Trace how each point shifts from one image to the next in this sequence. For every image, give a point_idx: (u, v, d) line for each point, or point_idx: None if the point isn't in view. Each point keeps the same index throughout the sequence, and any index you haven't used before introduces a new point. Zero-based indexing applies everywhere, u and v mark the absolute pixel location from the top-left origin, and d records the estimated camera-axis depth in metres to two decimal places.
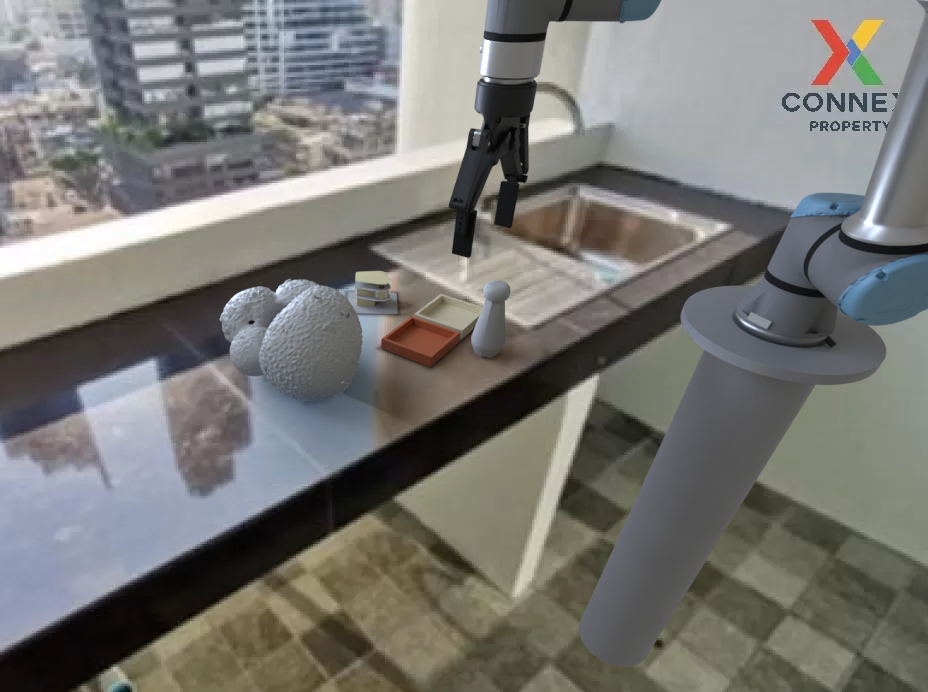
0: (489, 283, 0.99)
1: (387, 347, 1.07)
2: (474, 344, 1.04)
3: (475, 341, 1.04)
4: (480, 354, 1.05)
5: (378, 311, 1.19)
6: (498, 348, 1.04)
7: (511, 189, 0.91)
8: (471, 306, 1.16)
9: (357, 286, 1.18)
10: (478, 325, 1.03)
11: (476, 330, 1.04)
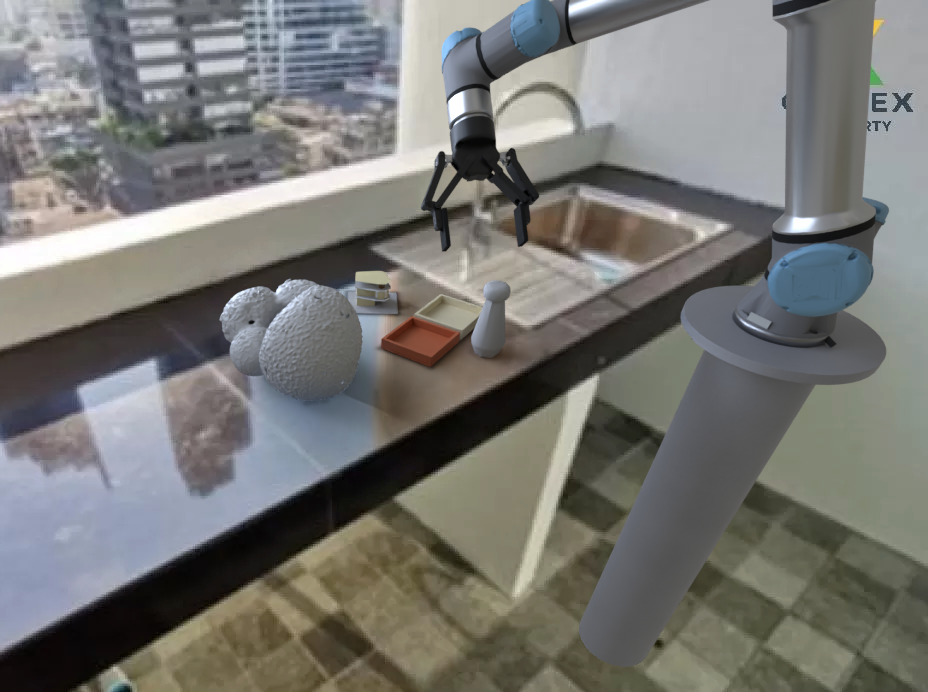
0: (489, 283, 0.99)
1: (387, 347, 1.07)
2: (474, 344, 1.04)
3: (475, 341, 1.04)
4: (480, 354, 1.05)
5: (378, 311, 1.19)
6: (498, 348, 1.04)
7: (518, 210, 1.04)
8: (471, 306, 1.16)
9: (357, 286, 1.18)
10: (478, 325, 1.03)
11: (476, 330, 1.04)
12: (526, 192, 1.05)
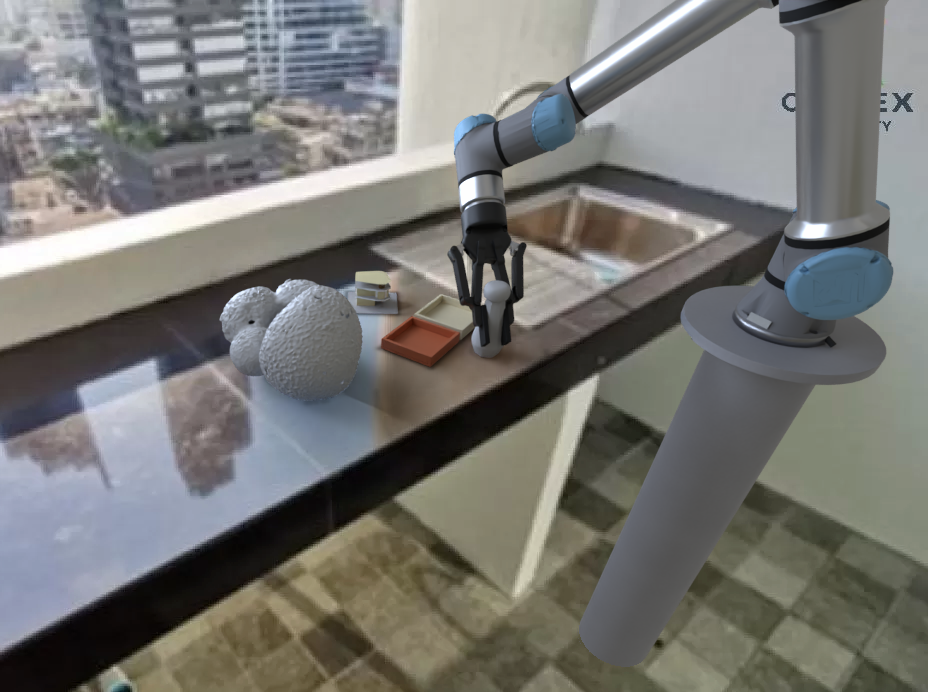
0: (489, 283, 0.99)
1: (387, 347, 1.07)
2: (475, 344, 1.04)
3: (475, 341, 1.04)
4: (480, 354, 1.05)
5: (378, 311, 1.19)
6: (499, 348, 1.04)
7: None
8: None
9: (357, 286, 1.18)
10: None
11: (476, 330, 1.04)
12: (516, 289, 1.03)
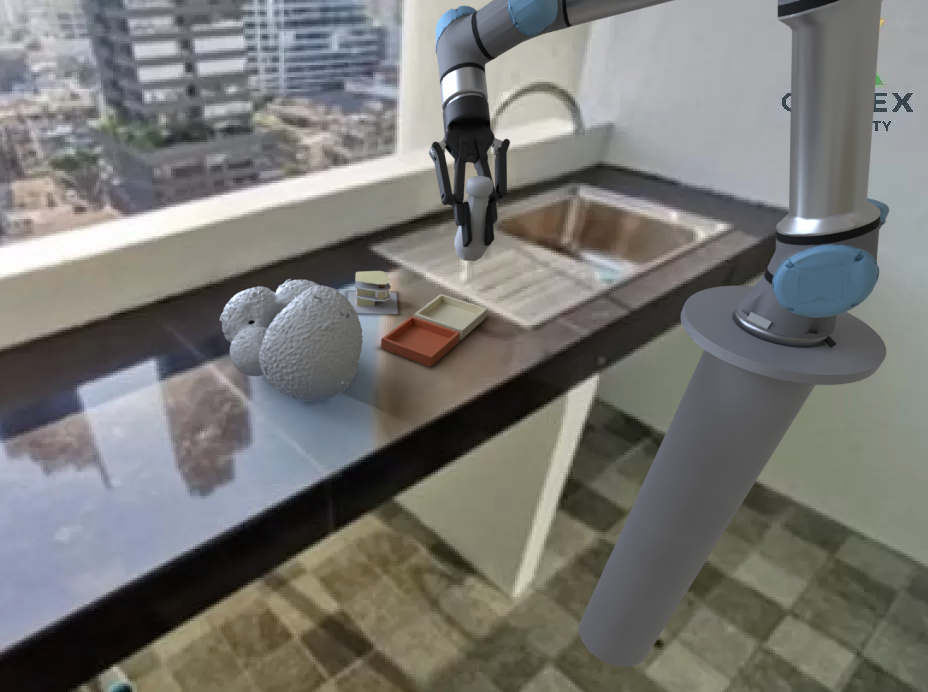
0: (471, 178, 0.96)
1: (387, 347, 1.07)
2: (457, 246, 1.02)
3: (458, 243, 1.01)
4: (463, 257, 1.03)
5: (378, 311, 1.19)
6: (482, 250, 1.01)
7: None
8: (471, 306, 1.16)
9: (357, 286, 1.18)
10: None
11: (459, 231, 1.01)
12: None
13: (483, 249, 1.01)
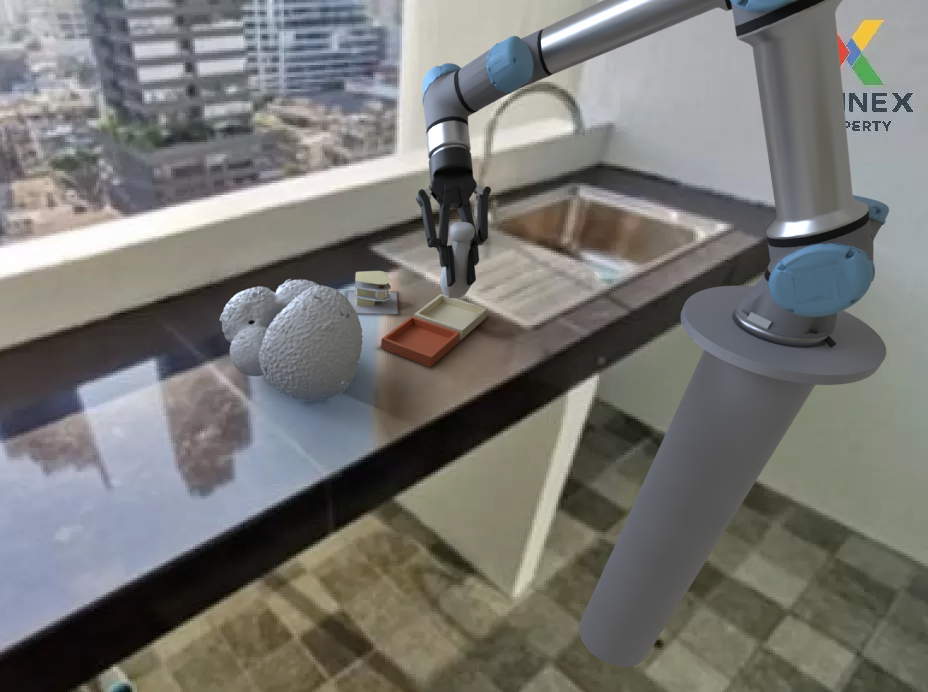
0: (454, 224, 1.04)
1: (387, 347, 1.07)
2: (442, 285, 1.09)
3: (442, 282, 1.09)
4: (448, 295, 1.10)
5: (378, 311, 1.19)
6: (465, 289, 1.09)
7: None
8: (471, 306, 1.16)
9: (357, 286, 1.18)
10: None
11: (443, 271, 1.09)
12: None
13: (466, 288, 1.09)
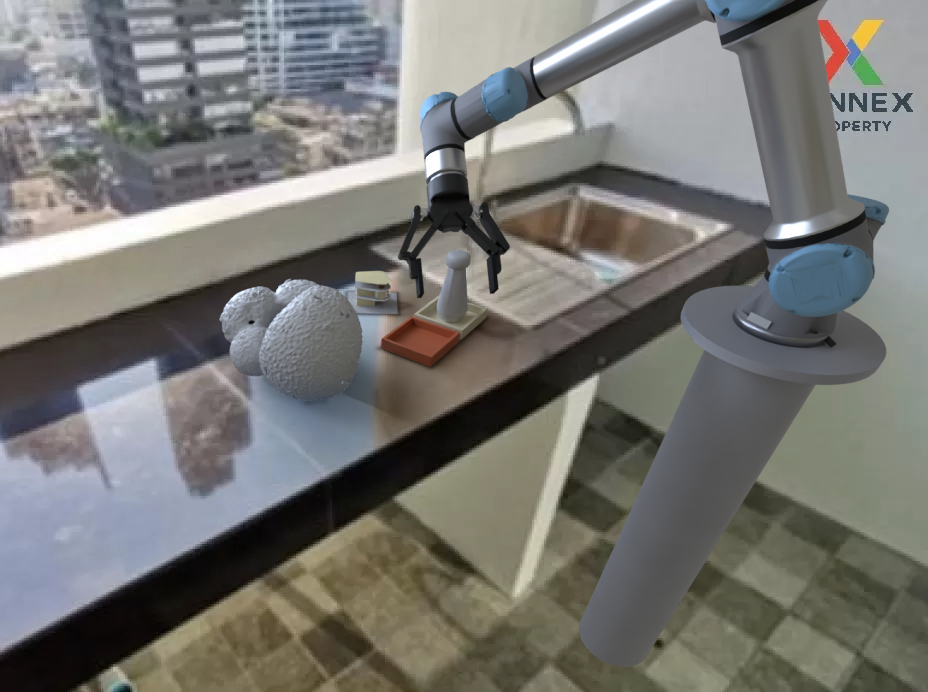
0: (451, 252, 1.07)
1: (387, 347, 1.07)
2: (439, 310, 1.13)
3: (439, 307, 1.12)
4: (445, 320, 1.14)
5: (378, 311, 1.19)
6: (461, 314, 1.12)
7: (490, 260, 1.10)
8: (471, 306, 1.16)
9: (357, 286, 1.18)
10: (442, 292, 1.11)
11: (440, 297, 1.12)
12: (498, 243, 1.12)
13: (462, 313, 1.12)
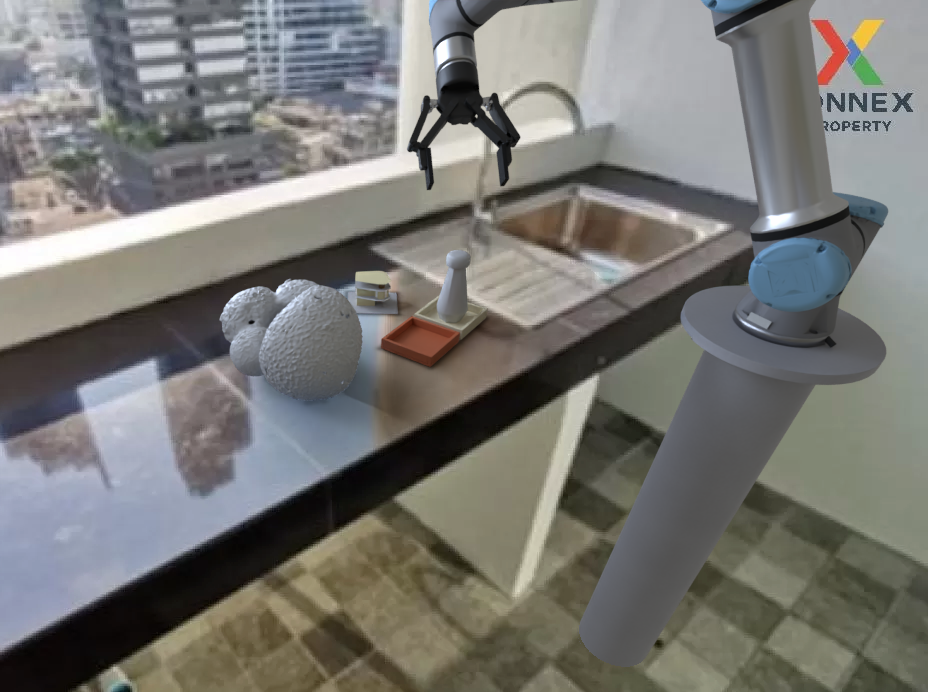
0: (451, 252, 1.07)
1: (387, 347, 1.07)
2: (439, 310, 1.13)
3: (439, 307, 1.12)
4: (445, 320, 1.14)
5: (378, 311, 1.19)
6: (461, 314, 1.12)
7: (500, 150, 1.09)
8: (471, 306, 1.16)
9: (357, 286, 1.18)
10: (442, 292, 1.11)
11: (440, 297, 1.12)
12: (509, 135, 1.10)
13: (462, 313, 1.12)
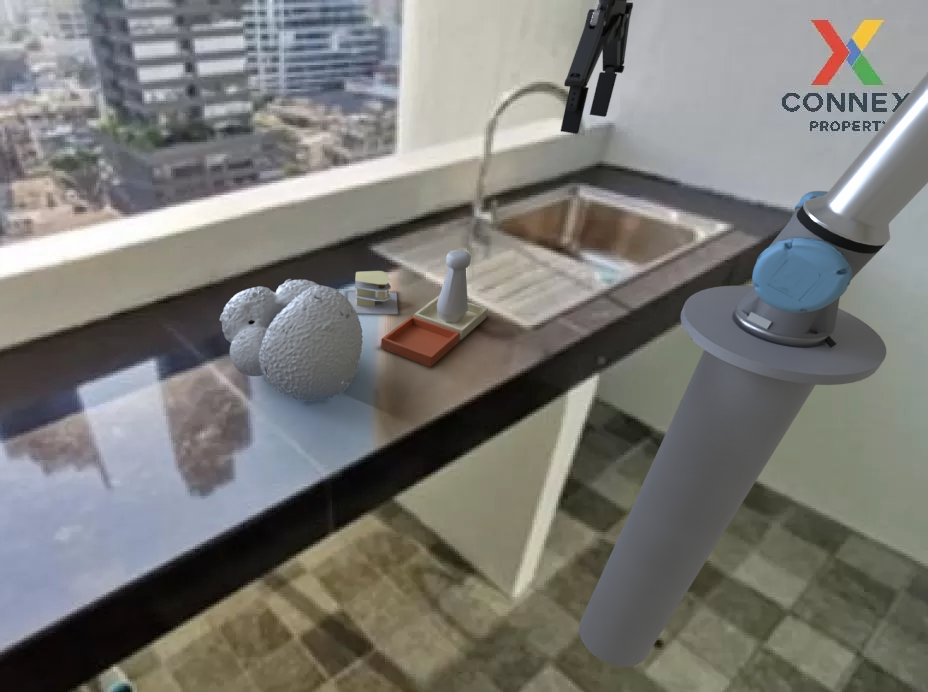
0: (451, 252, 1.07)
1: (387, 347, 1.07)
2: (439, 310, 1.13)
3: (439, 307, 1.12)
4: (445, 320, 1.14)
5: (378, 311, 1.19)
6: (461, 314, 1.12)
7: (609, 79, 1.03)
8: (471, 306, 1.16)
9: (357, 285, 1.18)
10: (442, 292, 1.11)
11: (440, 297, 1.12)
12: None
13: (462, 313, 1.12)
